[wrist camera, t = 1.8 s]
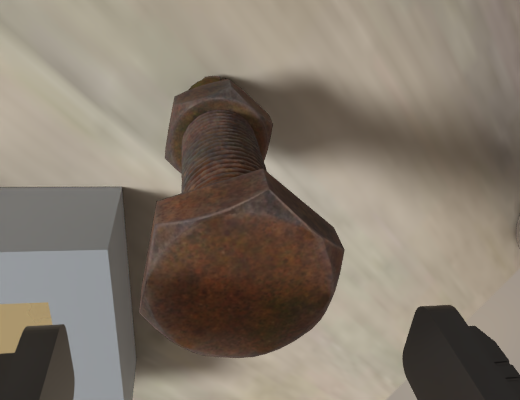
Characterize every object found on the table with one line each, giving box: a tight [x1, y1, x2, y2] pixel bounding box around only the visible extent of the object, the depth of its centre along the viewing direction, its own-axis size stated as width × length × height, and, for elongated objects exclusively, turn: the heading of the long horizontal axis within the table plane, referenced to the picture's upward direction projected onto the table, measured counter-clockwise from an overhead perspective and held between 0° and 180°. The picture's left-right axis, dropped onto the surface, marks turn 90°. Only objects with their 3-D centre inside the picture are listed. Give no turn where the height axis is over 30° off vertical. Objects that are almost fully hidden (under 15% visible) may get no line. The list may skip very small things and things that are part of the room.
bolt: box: [139, 76, 344, 358], centre depth 19 cm, size 6×5×15 cm
